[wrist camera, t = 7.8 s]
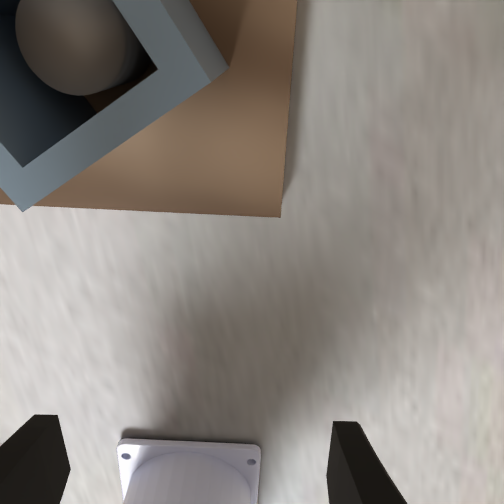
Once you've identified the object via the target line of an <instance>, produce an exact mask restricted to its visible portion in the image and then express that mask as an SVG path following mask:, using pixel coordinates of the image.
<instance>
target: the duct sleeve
mask: <svg viewBox="0 0 504 504" xmlns="http://www.w3.org/2000/svg"><path fill="white" fill-rule="evenodd" d="M19 2H20V0H0V188H1V189H2V190H3V191H4V192H5V193H6V194H7V195H8V197H9V198H10V199H11V200H12V201H13V202H14V203H15V204H16V205H17V207H18V208H19V209H20V210H21V211H22V212H24V211H25V210H27V209H28V208H30V207H31V206H32V205H34V204H35V203H37V202H38V201H40V200H41V199H43V198H44V197H45V196H47V195H48V194H50V193H51V192H53V191H54V190H56V189H57V188H59V187H60V186H61V185H63V184H64V183H66V182H67V181H69V180H70V179H72V178H73V177H74V176H76V175H77V174H79V173H80V172H82V171H83V170H85V169H86V168H88V167H89V166H90V165H92V164H93V163H95V162H96V161H98V160H99V159H101V158H102V157H103V156H105V155H106V154H108V153H109V152H111V151H112V150H114V149H115V148H116V147H118V146H119V145H121V144H122V143H124V142H125V141H127V140H128V139H130V138H131V137H132V136H134V135H135V134H137V133H138V132H140V131H141V130H143V129H144V128H145V127H147V126H148V125H150V124H151V123H153V122H154V121H156V120H157V119H159V118H160V117H161V116H163V115H164V114H166V113H167V112H169V111H170V110H172V109H173V108H174V107H176V106H177V105H179V104H180V103H182V102H183V101H185V100H186V99H187V98H189V97H190V96H192V95H193V94H195V93H196V92H198V91H199V90H201V89H202V88H203V87H205V86H206V85H208V84H209V83H211V82H212V81H213V80H215V79H216V78H217V77H218V76H220V75H221V74H222V73H223V72H225V71H226V70H227V69H228V68H229V66H228V64H227V63H226V61H225V59H224V58H223V56H222V54H221V53H220V51H219V49H218V48H217V46H216V44H215V43H214V41H213V39H212V38H211V36H210V34H209V33H208V31H207V29H206V28H205V26H204V24H203V23H202V21H201V19H200V18H199V16H198V14H197V13H196V11H195V9H194V8H193V6H192V4H191V3H190V1H189V0H113V2H114V3H115V5H116V6H117V8H118V9H119V11H120V12H121V14H122V15H123V17H124V18H125V20H126V21H127V23H128V24H129V26H130V27H131V29H132V30H133V32H134V33H135V35H136V36H137V38H138V39H139V41H140V42H141V44H142V45H143V47H144V48H145V50H146V51H147V53H148V54H149V56H150V58H151V59H152V61H153V62H154V64H155V65H156V67H157V68H158V70H157V71H156V72H154V73H153V74H151V75H150V76H149V77H147V78H146V79H145V80H143V81H142V82H140V83H139V84H138V85H136V86H135V87H133V88H132V89H131V90H129V91H128V92H127V93H125V94H124V95H122V96H121V97H120V98H118V99H117V100H116V101H114V102H113V103H111V104H110V105H109V106H107V107H106V108H105V109H103V110H102V111H100V112H99V113H98V114H97V113H96V111H95V110H94V109H93V107H92V106H91V105H90V103H89V102H88V101H87V99H86V98H85V97H84V95H80V96H77V95H70V94H66V93H63V92H60V91H57V90H55V89H54V88H52V87H50V86H49V85H47V84H46V83H44V82H43V81H42V80H41V79H40V78H38V76H37V75H36V74H35V73H34V72H33V71H32V70H31V68H30V67H29V66H28V64H27V62H26V61H25V59H24V57H23V55H22V53H21V51H20V48H19V45H18V41H17V37H16V30H15V18H16V12H17V8H18V4H19Z"/></svg>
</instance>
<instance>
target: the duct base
mask: <svg viewBox="0 0 504 504" xmlns="http://www.w3.org/2000/svg"><path fill="white" fill-rule="evenodd" d="M189 1H190V3H191V4H192V6H193V8H194V9H195V11H196V13H197V14H198V16H199V18H200V19H201V21H202V23H203V24H204V26H205V28H206V29H207V31H208V33H209V34H210V36H211V38H212V39H213V41H214V43H215V44H216V46H217V48H218V49H219V51H220V53H221V54H222V56H223V58H224V59H225V61H226V63H227V64H228V66H229V68H228V69H227V70H226V71H225V72H223V73H222V74H221V75H220V76H218V77H217V78H216V79H215V80H213V81H212V82H211V83H209V84H208V85H206V86H205V87H203V88H202V89H201V90H199V91H198V92H196V93H195V94H193V95H192V96H190V97H189V98H187V99H186V100H185V101H183V102H182V103H180V104H179V105H177V106H176V107H174V108H173V109H172V110H170V111H169V112H167V113H166V114H164V115H163V116H161V117H160V118H159V119H157V120H156V121H154V122H153V123H151V124H150V125H148V126H147V127H145V128H144V129H143V130H141V131H140V132H138V133H137V134H135V135H134V136H132V137H131V138H130V139H128V140H127V141H125V142H124V143H122V144H121V145H119V146H118V147H116V148H115V149H114V150H112V151H111V152H109V153H108V154H106V155H105V156H103V157H102V158H101V159H99V160H98V161H96V162H95V163H93V164H92V165H90V166H89V167H88V168H86V169H85V170H83V171H82V172H80V173H79V174H77V175H76V176H74V177H73V178H72V179H70V180H69V181H67V182H66V183H64V184H63V185H61V186H60V187H59V188H57V189H56V190H54V191H53V192H51V193H50V194H48V195H47V196H45V197H44V198H43V199H41V200H40V201H38V202H37V203H35V204H34V205H32V206H49V207H70V208H91V209H112V210H132V211H153V212H174V213H195V214H216V215H237V216H258V217H278V218H281V205H282V192H283V179H284V166H285V153H286V140H287V127H288V115H289V102H290V89H291V76H292V63H293V50H294V37H295V24H296V11H297V0H189ZM15 30H16V37H17V41H18V45H19V48H20V51H21V53H22V55H23V57H24V59H25V61H26V62H27V64H28V66H29V67H30V68H31V70H32V71H33V72H34V73H35V74H36V75H37V76H38V78H40V79H41V80H42V81H43V82H44V83H46V84H47V85H49V86H50V87H52V88H54V89H55V90H57V91H60V92H63V93H66V94H70V95H77V96H80V95H84V97H85V98H86V99H87V101H88V102H89V103H90V105H91V106H92V107H93V109H94V110H95V111H96V113H97V114H98V113H99V112H100V111H102V110H103V109H105V108H106V107H107V106H109V105H110V104H111V103H113V102H114V101H116V100H117V99H118V98H120V97H121V96H122V95H124V94H125V93H127V92H128V91H129V90H131V89H132V88H133V87H135V86H136V85H138V84H139V83H140V82H142V81H143V80H145V79H146V78H147V77H149V76H150V75H151V74H153V73H154V72H156V71H157V70H158V68H157V67H156V65H155V64H154V62H153V61H152V59H151V58H150V56H149V54H148V53H147V51H146V50H145V48H144V47H143V45H142V44H141V42H140V41H139V39H138V38H137V36H136V35H135V33H134V32H133V30H132V29H131V27H130V26H129V24H128V23H127V21H126V20H125V18H124V17H123V15H122V14H121V12H120V11H119V9H118V8H117V6H116V5H115V3H114V2H113V0H20V2H19V4H18V8H17V12H16V18H15ZM0 204H7V205H16V204H15V203H14V202H13V201H12V200H11V199H10V198H9V197H8V195H7V194H6V193H5V192H4V191H3V190H2V189H1V188H0Z"/></svg>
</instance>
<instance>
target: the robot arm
mask: <svg viewBox="0 0 504 504" xmlns="http://www.w3.org/2000/svg"><path fill="white" fill-rule="evenodd" d="M117 455H118V463H119V471H120V479H121V486H122V494H123V504H257V500H258V487H259V474H260V461H261V449H260V448H259V446H257V445H254V444H236V443H214V442H193V441H171V440H150V439H129V438H126V439H122V440H120V441H119V442H118V445H117ZM70 470H71V469H70V464H69V460H68V456H67V452H66V448H65V444H64V439H63V435H62V431H61V427H60V423H59V419H58V415H34V416H32V417H31V418H30V419H29V420H28V421H27V422H26V423H25V424H24V425H23V426H22V427H20V428H19V429H18V430H17V431H16V432H15V433H14V434H13V435H12V436H11V437H10V438H9V439H8V440H7V441H6V442H4V443H3V444H2V445H1V446H0V504H60V501H61V498H62V495H63V492H64V489H65V486H66V483H67V479H68V476H69V473H70ZM326 476H327V485H328V495H329V504H407V502H406V501H405V499H404V498H403V496H402V495H401V493H400V492H399V490H398V489H397V487H396V486H395V484H394V483H393V481H392V480H391V478H390V476H389V475H388V473H387V472H386V470H385V468H384V467H383V465H382V463H381V462H380V460H379V458H378V457H377V455H376V453H375V451H374V450H373V448H372V446H371V444H370V442H369V441H368V439H367V437H366V435H365V433H364V431H363V429H362V427H361V425H360V424H359V423H358V422H350V421H333V427H332V435H331V443H330V451H329V459H328V467H327V475H326Z"/></svg>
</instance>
